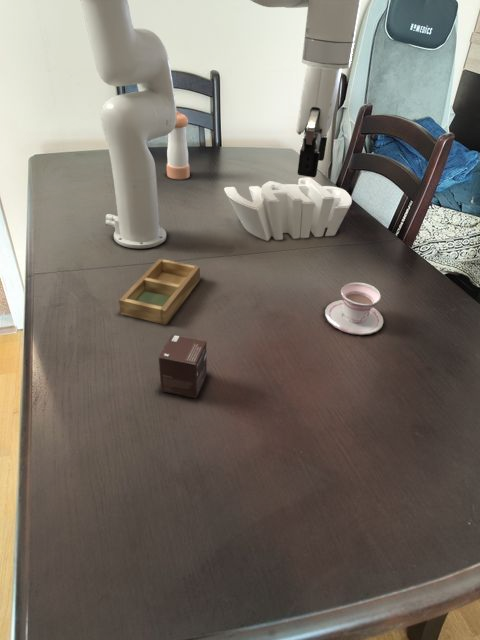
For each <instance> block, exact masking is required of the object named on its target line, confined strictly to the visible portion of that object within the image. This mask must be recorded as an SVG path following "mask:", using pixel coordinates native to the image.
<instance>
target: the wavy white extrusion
mask: <svg viewBox="0 0 480 640" xmlns="http://www.w3.org/2000/svg"><path fill="white" fill-rule="evenodd" d="M248 189H249V193H250V196H251V199H252V201H250V200H248V199H246V198H245V197H243V196H242V195H241V194H240V193H238V190H237V188H236V187H235V186H225V187H224V188H223V190H224V193H225V195H226V197H227V199H228V200H229V202H230V204H231V206H232V208H233V210H234V212H235V214H236V215H237V217H238V220H239V221H240V222H241V225H242V226H243V227H244V229H245V230H246V231H247V232H248V233H250V234H251V235H253V236H255V237H256V238H259V239H261V240H264V241H267V242H269V240H270V239H271V238H273V239H274V240H275V241H280V240H284V234H288V235H290V236H291V238H292V239H307V238H310V235H311V234H312V235H313V237H314V238H320V237H324V236H325V237H333V236H335V235H336V234H337V232H338V231H339V229H340V227H341V224H342V222H343V220H344V219H345V216H347V213H348V211H349V209H350V207H351V205H352V203H353V198H352V196H351V195H350V194H349V192H347V190H345V189H344V188H342V187H337V186H331V185H321V184H320V183H318V182H317V181H315V180H314V179H313V178H312V177H308V176H303V177H300V178H299V179H298V182H297V184H296V183H288V184H287V183H285V184H283V183H280V182H277V181H272V180H269V181H267V182H265V183H264V184H262V185H261V187H260V186H259V185H250V186H248ZM325 230H326V231H325ZM310 233H311V234H310ZM324 234H325V235H324Z"/></svg>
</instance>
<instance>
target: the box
mask: <svg viewBox="0 0 480 640" xmlns="http://www.w3.org/2000/svg"><path fill="white" fill-rule="evenodd" d="M207 355H208V354H207V340H202V339H196V338H190V337H185V336H180V335H170V337H169V338H168V340H167V341H166V343H165V345H164V346H163V349H162V350H161V352H160V354H159V355H158V369H159V381H160V391H161V392H164V393H170V394H173V395H174V394H175V395H180V396H185V397H190V398H194V399H195V398H197V397H198V395H199V393H200V391H201V389H202V387H203V384H204V382H205V380H206V377H207V375H208V373H207V370H208V369H207V365H208V363H207V362H208V361H207Z"/></svg>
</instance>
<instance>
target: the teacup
mask: <svg viewBox="0 0 480 640" xmlns="http://www.w3.org/2000/svg"><path fill="white" fill-rule="evenodd" d="M340 289H341V290H340V295H341V298H342V299H339V300H336V301H333V302H331V303H329V304H328V305H327V306H326V308H325V310H324V317H325V318H326V320H327V322H328V323H329V324H330V325H331V326H333V327H334V328H336V329H338V331H341V332H344V333H347V334H351V335H358V336H364V335H365V336H366V335H371V334H374V333H378V331H380V330H381V329H382V327H383V324H384V318H383V315H382V314H381V312H380V311H379V310H377V309H376V308H375V306H377V305H378V304H379V302H380V301H381V296H382V295H381V292H380V291H379V290H378V288H377V287H375V286H373V285H371V284H368V283H365V282H359V281H358V282H356V281H355V282H349V283H346V284H345V285H343V286H342V288H340Z"/></svg>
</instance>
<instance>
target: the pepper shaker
mask: <svg viewBox="0 0 480 640" xmlns="http://www.w3.org/2000/svg"><path fill="white" fill-rule="evenodd" d="M188 124H189V118H188V117H187V116H186V115H185V114H183V113H181V112H180V111H179V110H177V121H176V125H175V127H174V129H173V130H172V132H170V133H169V134H167V139H168V140H167V148H166V149H167V150H166V156H167V157H166V158H167V163H166V176H167V177H168V178H170V179H173V180H185V179H189V178H190V177H191V176H190V171H191V170H190V169H191V168H190V163H189V149H188V143H187V127H188Z"/></svg>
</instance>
